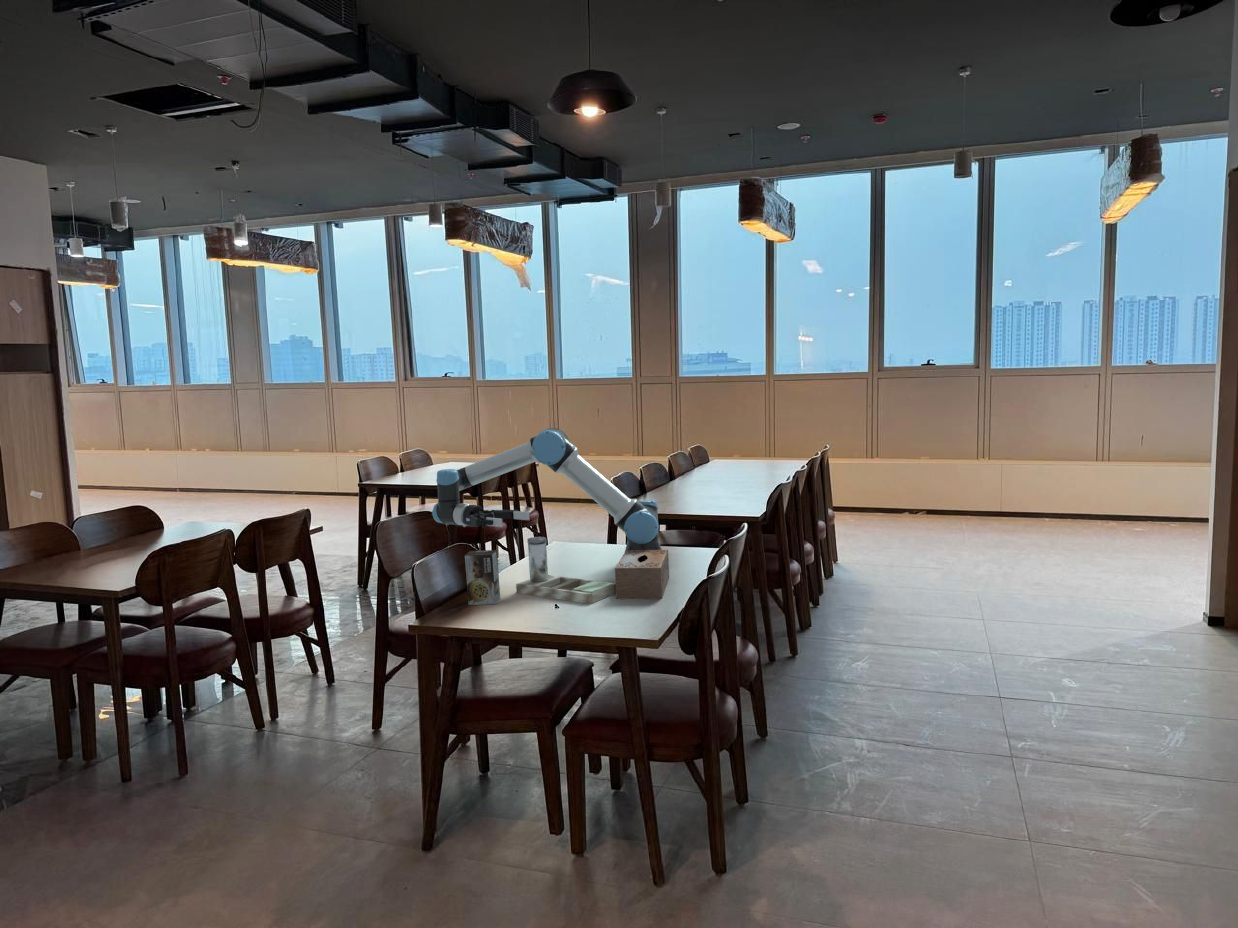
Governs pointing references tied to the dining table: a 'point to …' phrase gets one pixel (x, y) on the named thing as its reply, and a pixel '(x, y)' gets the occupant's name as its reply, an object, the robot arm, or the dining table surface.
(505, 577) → the dining table surface
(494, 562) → the coffee box
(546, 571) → the canister
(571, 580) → the board
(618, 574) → the tissue box cover
